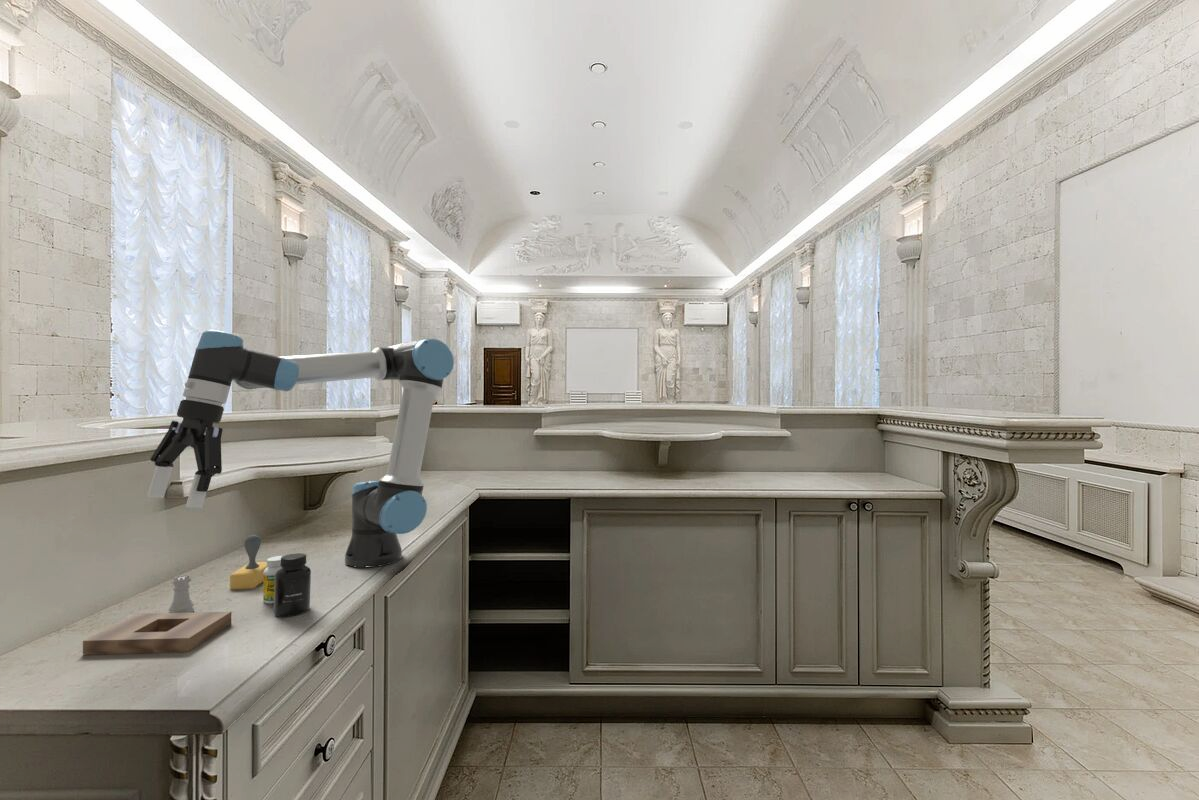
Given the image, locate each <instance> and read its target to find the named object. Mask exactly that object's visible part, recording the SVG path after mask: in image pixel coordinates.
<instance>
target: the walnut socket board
mask: <svg viewBox="0 0 1199 800" xmlns="http://www.w3.org/2000/svg"><path fill="white" fill-rule="evenodd" d="M230 625H232V611H206V612H204V611H200V612H196V611H195V612H194V611H193V612H192V613H169V612H157V613H156V612H155V613H153V612H152V613H149V612H148V613H137V614H135V615H133V616H131V617H128V618H127V619H125V620H122V621H121V622H118V623H117V624H114V625H112V626H110V627H108V628H106V629H104V630H102V631H101V632H99V633H96V634H94V635H92V636H90V637H88V638H86V639H84V640H82V655H83V654H95V655H118V654H119V655H123V654H128V655H129V654H131V655H132V654H157V653H158V654H161V653H163V654H164V653H188V652H190V651H192V650H194V649H195V648H196V647H198V646H200V645H201V644H203V643H204V642H206V641H208V640H209V639H210V638H212V637H214V636H215V635H216V634H218V633H220V632H221V631H222V630H224V629H226V628H227V627H229V626H230Z"/></svg>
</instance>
